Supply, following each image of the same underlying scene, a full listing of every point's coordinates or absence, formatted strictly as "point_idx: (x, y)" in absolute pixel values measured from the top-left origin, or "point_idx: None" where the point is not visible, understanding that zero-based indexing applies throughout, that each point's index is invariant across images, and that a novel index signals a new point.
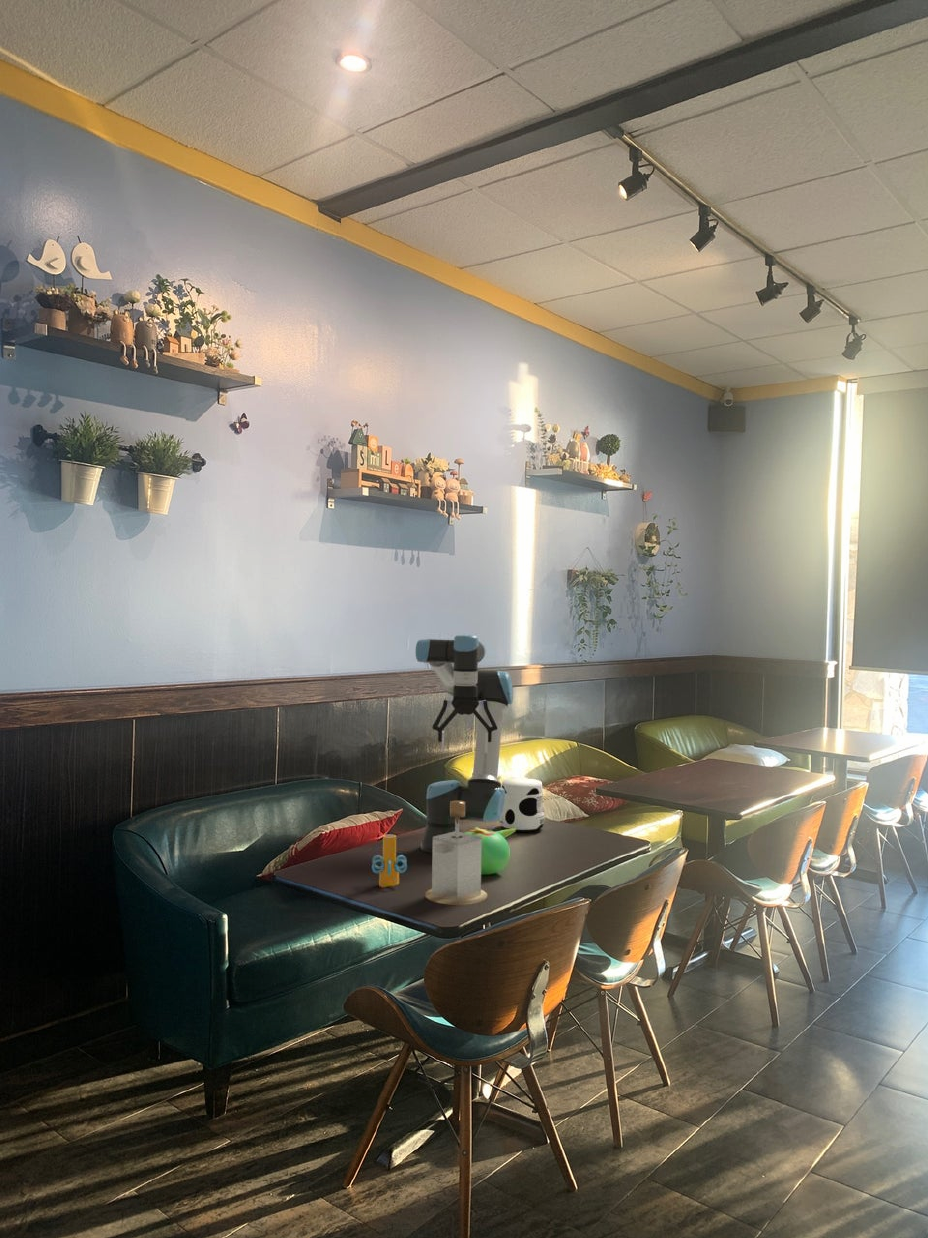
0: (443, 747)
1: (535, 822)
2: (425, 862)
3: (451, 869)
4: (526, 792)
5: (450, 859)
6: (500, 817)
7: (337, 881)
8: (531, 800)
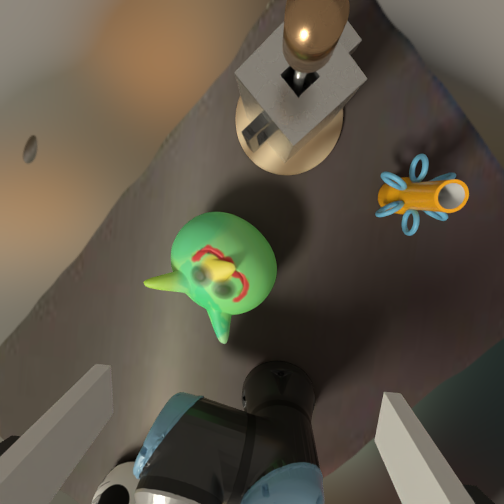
0: (409, 423)
1: (113, 473)
2: (315, 323)
3: None
4: None
5: None
6: None
7: (480, 227)
8: None
